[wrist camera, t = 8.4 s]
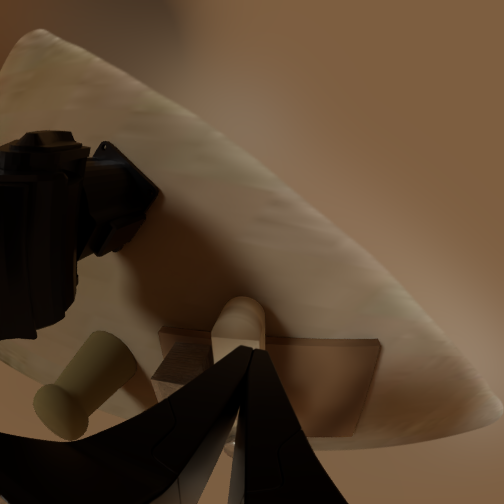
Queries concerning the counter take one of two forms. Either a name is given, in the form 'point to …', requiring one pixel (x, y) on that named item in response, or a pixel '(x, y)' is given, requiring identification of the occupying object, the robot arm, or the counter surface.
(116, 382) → the cork
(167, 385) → the keeper
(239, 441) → the robot arm
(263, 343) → the latch arm
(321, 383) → the base plate
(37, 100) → the counter surface
